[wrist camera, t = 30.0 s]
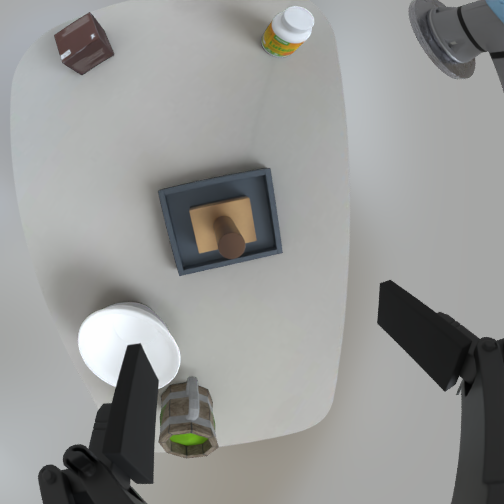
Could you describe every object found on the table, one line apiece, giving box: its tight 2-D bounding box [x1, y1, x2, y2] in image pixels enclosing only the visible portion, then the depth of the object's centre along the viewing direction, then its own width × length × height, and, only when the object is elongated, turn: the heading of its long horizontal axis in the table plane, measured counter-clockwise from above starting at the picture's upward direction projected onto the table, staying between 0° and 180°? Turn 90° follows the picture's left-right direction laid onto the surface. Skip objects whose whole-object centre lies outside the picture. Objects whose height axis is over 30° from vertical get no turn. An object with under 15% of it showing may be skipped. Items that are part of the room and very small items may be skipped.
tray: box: [158, 168, 283, 276], centre depth 40 cm, size 16×13×2 cm
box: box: [54, 12, 114, 75], centre depth 25 cm, size 6×6×7 cm
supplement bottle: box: [261, 6, 314, 57], centre depth 29 cm, size 5×5×10 cm
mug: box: [159, 377, 218, 458], centre depth 44 cm, size 16×11×12 cm
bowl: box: [78, 302, 180, 389], centre depth 39 cm, size 16×16×8 cm
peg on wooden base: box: [189, 195, 257, 259], centre depth 34 cm, size 8×6×12 cm
